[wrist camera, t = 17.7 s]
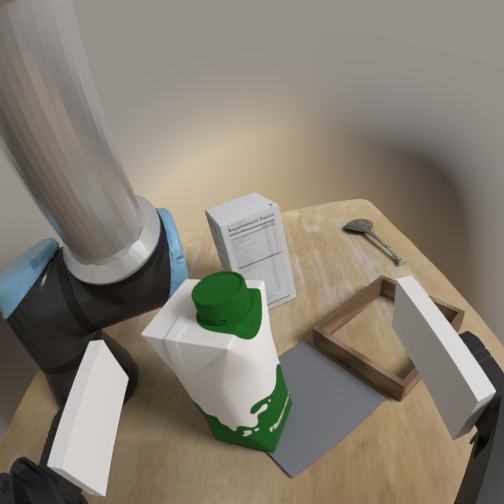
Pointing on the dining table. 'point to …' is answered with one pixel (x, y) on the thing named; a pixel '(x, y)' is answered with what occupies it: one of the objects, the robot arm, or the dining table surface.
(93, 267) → the robot arm
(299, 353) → the rubber mat
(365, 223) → the soupspoon
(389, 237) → the dining table surface
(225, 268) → the supplement box
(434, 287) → the dining table surface
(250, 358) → the soya milk
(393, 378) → the walnut frame
